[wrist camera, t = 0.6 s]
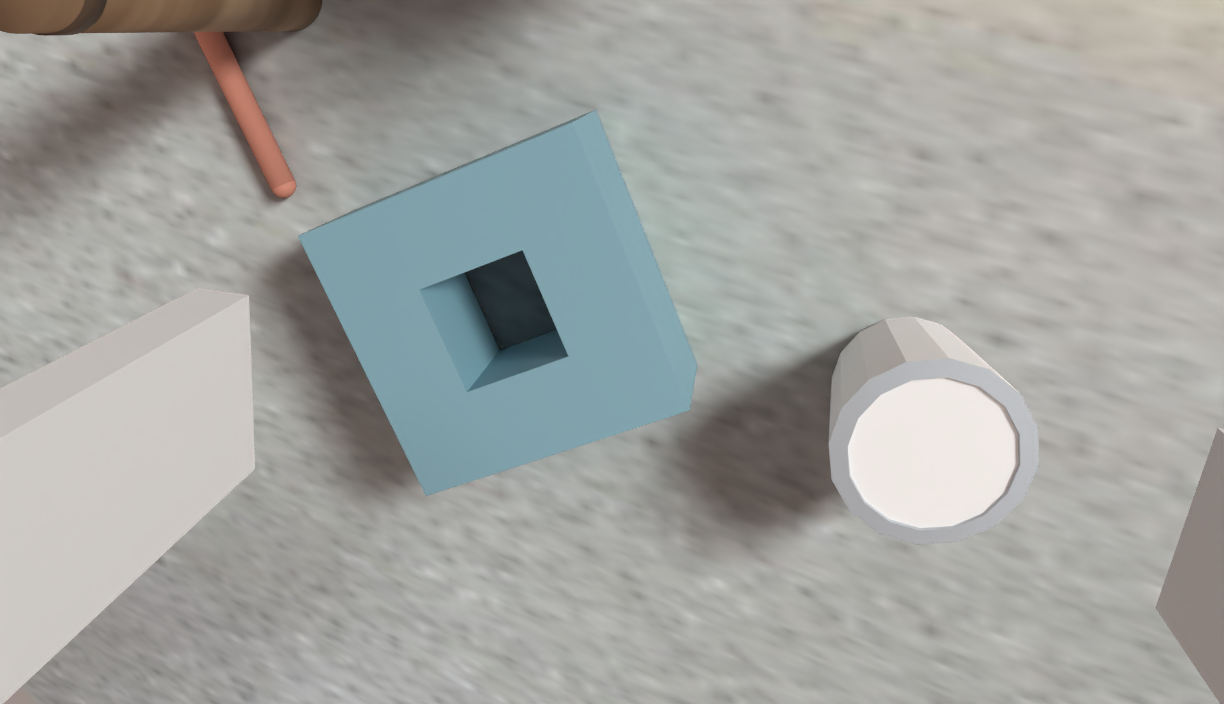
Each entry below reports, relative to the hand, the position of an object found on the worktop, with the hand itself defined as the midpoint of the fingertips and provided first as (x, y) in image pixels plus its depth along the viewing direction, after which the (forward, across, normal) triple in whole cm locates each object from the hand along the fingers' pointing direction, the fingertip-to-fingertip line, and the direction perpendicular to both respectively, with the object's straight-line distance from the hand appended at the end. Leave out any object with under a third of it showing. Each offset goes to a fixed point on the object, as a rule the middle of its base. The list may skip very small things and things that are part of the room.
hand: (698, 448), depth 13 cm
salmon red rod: (+26, -20, +2) cm, 33 cm away
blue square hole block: (+25, -8, -6) cm, 27 cm away
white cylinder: (+26, +8, -8) cm, 28 cm away
